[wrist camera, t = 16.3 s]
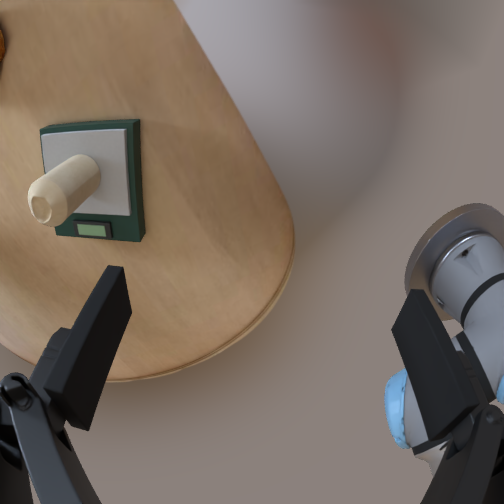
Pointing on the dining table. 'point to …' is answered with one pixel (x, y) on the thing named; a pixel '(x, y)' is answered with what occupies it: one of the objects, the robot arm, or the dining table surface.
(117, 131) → the scale
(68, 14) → the dining table surface
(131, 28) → the dining table surface
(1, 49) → the croissant
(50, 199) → the candle
